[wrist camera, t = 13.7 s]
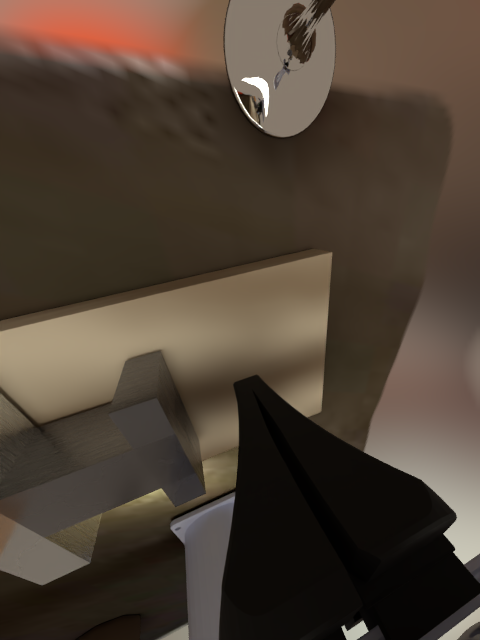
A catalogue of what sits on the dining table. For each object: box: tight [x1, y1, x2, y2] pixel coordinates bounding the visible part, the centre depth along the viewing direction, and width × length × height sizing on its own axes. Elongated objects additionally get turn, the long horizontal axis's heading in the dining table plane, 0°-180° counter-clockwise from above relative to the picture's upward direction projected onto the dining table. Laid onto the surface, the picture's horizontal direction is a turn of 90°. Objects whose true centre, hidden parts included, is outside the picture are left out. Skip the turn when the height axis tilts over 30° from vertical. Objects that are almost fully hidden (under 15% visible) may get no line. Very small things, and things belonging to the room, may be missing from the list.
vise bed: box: [0, 249, 332, 461], centre depth 11 cm, size 12×23×2 cm, turn 99°
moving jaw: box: [0, 351, 206, 585], centre depth 9 cm, size 10×8×3 cm
